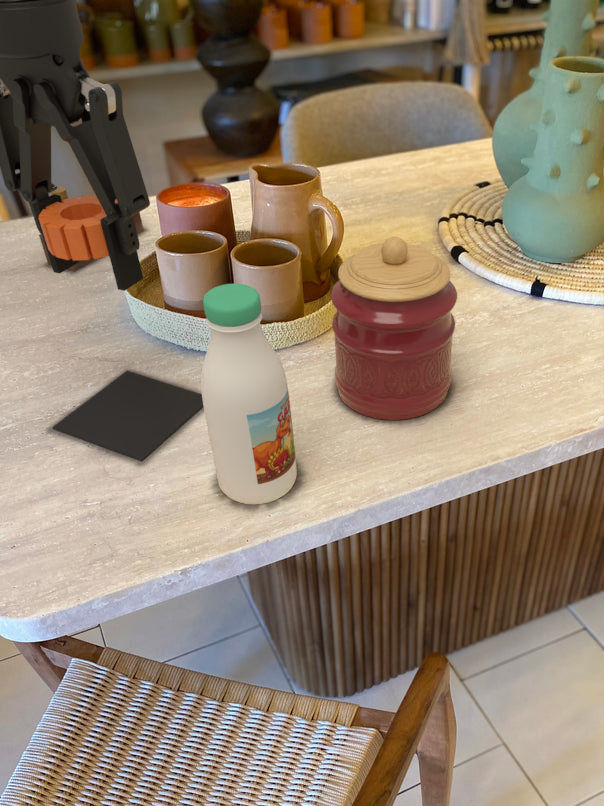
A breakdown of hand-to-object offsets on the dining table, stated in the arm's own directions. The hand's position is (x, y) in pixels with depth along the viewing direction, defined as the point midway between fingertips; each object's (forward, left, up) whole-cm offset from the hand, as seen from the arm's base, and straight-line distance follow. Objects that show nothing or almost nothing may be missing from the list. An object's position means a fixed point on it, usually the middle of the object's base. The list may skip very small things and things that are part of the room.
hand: (98, 274), depth 73 cm
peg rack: (-32, +30, -16) cm, 46 cm away
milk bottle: (+18, -3, -16) cm, 25 cm away
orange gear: (0, 0, +3) cm, 3 cm away
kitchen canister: (+23, +17, -16) cm, 33 cm away
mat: (0, 0, -16) cm, 16 cm away
